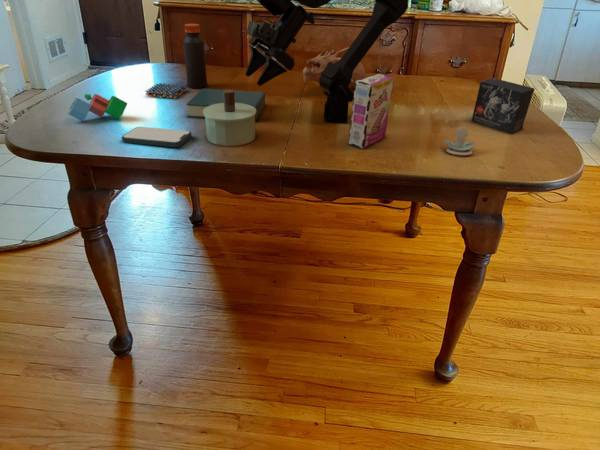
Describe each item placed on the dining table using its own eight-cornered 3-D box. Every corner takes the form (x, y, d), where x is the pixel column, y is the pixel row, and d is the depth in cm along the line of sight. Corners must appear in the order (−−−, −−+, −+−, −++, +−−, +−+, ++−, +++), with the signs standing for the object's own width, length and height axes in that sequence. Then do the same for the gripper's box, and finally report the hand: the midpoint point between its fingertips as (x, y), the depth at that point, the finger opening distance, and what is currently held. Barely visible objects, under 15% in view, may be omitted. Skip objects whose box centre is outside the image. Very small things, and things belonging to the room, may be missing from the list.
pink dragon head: (370, 48, 159) (336, 44, 139) (369, 93, 163) (336, 95, 143) (336, 50, 166) (299, 47, 146) (336, 93, 170) (301, 95, 150)
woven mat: (176, 99, 146) (175, 93, 145) (144, 97, 147) (143, 90, 146) (188, 90, 155) (187, 84, 154) (158, 88, 156) (157, 82, 155)
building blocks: (109, 135, 131) (66, 114, 125) (119, 112, 134) (78, 90, 128) (117, 126, 125) (73, 103, 119) (128, 102, 128) (85, 78, 122)
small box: (470, 121, 137) (479, 80, 130) (482, 116, 140) (492, 77, 134) (511, 134, 128) (523, 91, 122) (523, 129, 132) (535, 87, 126)
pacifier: (475, 158, 113) (470, 148, 118) (481, 134, 110) (476, 125, 115) (445, 156, 114) (442, 146, 119) (450, 132, 111) (447, 123, 116)
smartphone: (120, 143, 115) (178, 149, 112) (119, 137, 114) (178, 143, 111) (138, 131, 123) (193, 136, 120) (137, 125, 122) (193, 130, 119)
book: (265, 105, 144) (265, 92, 142) (255, 121, 131) (255, 108, 129) (203, 101, 146) (202, 88, 144) (187, 117, 132) (186, 103, 130)
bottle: (188, 89, 156) (182, 26, 146) (186, 84, 162) (180, 23, 151) (208, 88, 158) (203, 26, 147) (206, 83, 163) (201, 22, 153)
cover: (243, 104, 125) (243, 81, 122) (265, 119, 115) (265, 95, 112) (196, 110, 119) (193, 87, 116) (214, 127, 109) (212, 101, 106)
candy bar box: (364, 150, 116) (371, 84, 107) (347, 144, 118) (353, 80, 109) (386, 138, 123) (395, 76, 114) (370, 133, 126) (378, 72, 117)
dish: (243, 125, 128) (242, 102, 124) (263, 141, 119) (262, 116, 115) (200, 132, 122) (198, 108, 119) (217, 149, 113) (215, 124, 110)
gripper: (250, 2, 117) (217, 54, 120) (277, 12, 103) (239, 70, 106) (282, 29, 124) (249, 78, 127) (311, 42, 110) (274, 96, 113)
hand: (252, 80), depth 118 cm, fingers open, 9 cm apart
